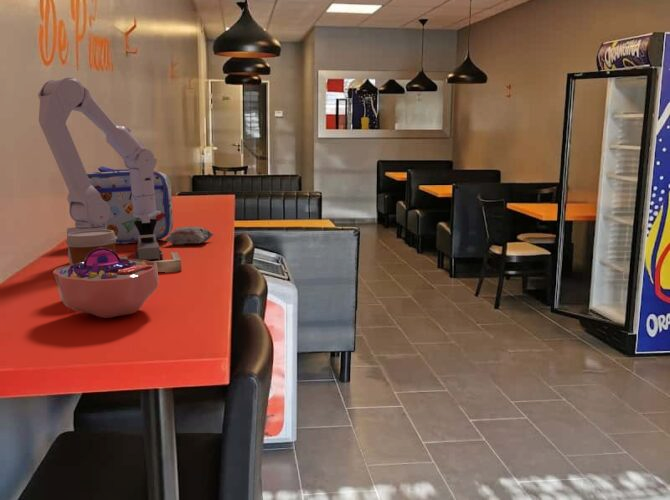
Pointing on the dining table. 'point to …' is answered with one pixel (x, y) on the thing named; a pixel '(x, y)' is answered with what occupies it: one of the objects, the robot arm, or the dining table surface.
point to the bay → (167, 263)
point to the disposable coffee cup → (89, 243)
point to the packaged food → (189, 236)
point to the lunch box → (119, 198)
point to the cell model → (106, 284)
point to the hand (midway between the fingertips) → (147, 247)
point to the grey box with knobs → (148, 249)
